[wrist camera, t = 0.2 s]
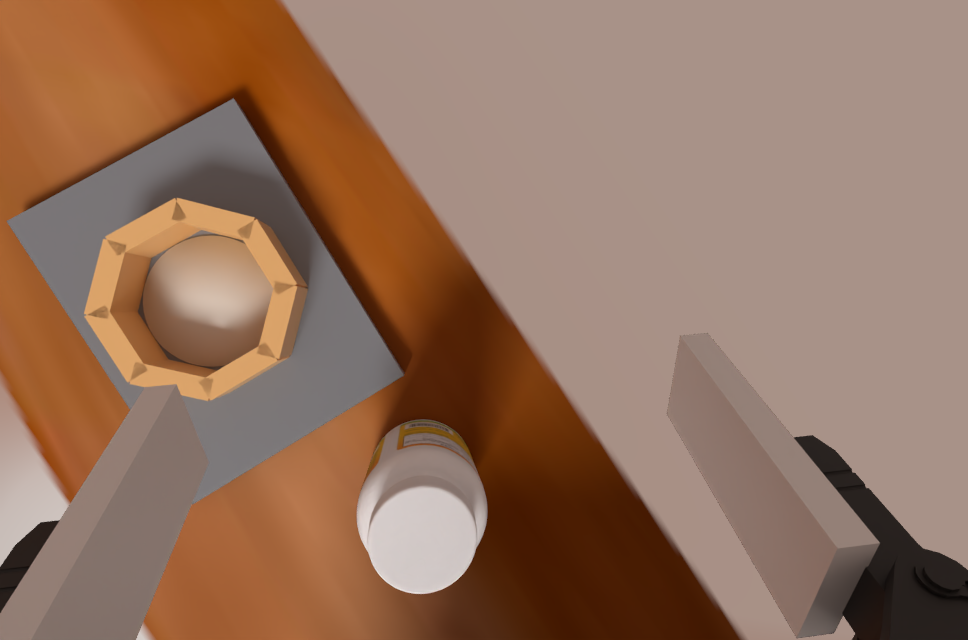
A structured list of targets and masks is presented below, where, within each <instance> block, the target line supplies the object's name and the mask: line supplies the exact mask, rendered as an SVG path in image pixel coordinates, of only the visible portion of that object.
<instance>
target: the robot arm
mask: <svg viewBox="0 0 968 640" xmlns="http://www.w3.org/2000/svg"><path fill="white" fill-rule="evenodd" d="M667 415H668V417H669V418H670V420H671V422H672V424H673V425H674V427H675V429H676V430H677V432H678V434H679V436H680V437H681V439H682V441H683V443H684V444H685V446H686V448H687V449H688V451H689V453H690V455H691V456H692V458H693V460H694V462H695V463H696V465H697V467H698V469H699V470H700V472H701V474H702V475H703V477H704V479H705V481H706V482H707V484H708V486H709V488H710V489H711V491H712V493H713V494H714V496H715V498H716V500H717V501H718V503H719V505H720V507H721V508H722V510H723V512H724V513H725V515H726V517H727V519H728V520H729V522H730V524H731V526H732V527H733V529H734V531H735V532H736V534H737V536H738V538H739V539H740V541H741V543H742V545H743V546H744V548H745V550H746V551H747V553H748V555H749V556H750V558H751V560H752V562H753V564H754V565H755V567H756V569H757V571H758V572H759V574H760V576H761V577H762V579H763V581H764V583H765V584H766V586H767V588H768V590H769V591H770V593H771V595H772V596H773V598H774V600H775V602H776V603H777V605H778V607H779V609H780V610H781V612H782V614H783V615H784V617H785V619H786V621H787V622H788V624H789V626H790V628H791V629H792V631H793V633H794V634H795V636H796V638H802V637H810V636H817V635H824V634H832V633H834V632H835V630H836V628H837V626H838V624H839V622H840V620H841V618H842V616H844V617H845V619H846V620H847V621H848V623H849V624H850V626H851V627H852V629H853V631H854V632H855V635H854V637H853V639H852V640H968V570H967V569H966V568H964V567H963V566H962V565H960V564H959V563H958V562H957V561H955V560H952V559H951V558H949V557H947V556H945V555H943V554H940V553H938V552H933V551H930V550H926V549H923V548H922V547H921V546H920V545H918V543H917V542H916V541H915V540H914V539H913V538H912V537H911V536H910V534H909V533H908V532H907V531H906V530H905V529H904V528H903V526H902V525H901V524H900V523H899V522H898V521H897V520H896V519H895V518H894V516H893V515H892V514H891V513H890V512H889V511H888V510H887V509H886V507H885V506H884V505H883V504H882V503H881V502H880V501H879V499H878V498H877V497H876V496H875V495H874V494H873V493H872V491H871V490H870V489H869V488H866V487H865V484H864V482H863V481H862V480H861V479H860V478H859V477H858V476H857V475H856V473H852V469H851V468H850V467H849V466H848V465H847V463H846V462H845V461H844V460H843V459H842V458H841V457H840V455H839V454H838V453H837V452H836V451H835V450H834V449H832V448H831V447H829V446H827V445H826V444H825V443H823V442H822V441H820V440H819V439H817V438H816V437H814V436H813V435H812V436H803V437H795V438H793V436H792V435H791V434H790V433H789V432H788V430H787V429H786V428H785V427H784V425H783V424H782V423H781V422H780V421H779V419H778V418H777V417H776V416H775V414H774V413H773V412H772V411H771V410H770V409H769V407H768V406H767V405H766V404H765V402H764V401H763V400H762V399H761V397H760V396H759V395H758V394H757V393H756V391H755V390H754V389H753V388H752V387H751V385H750V384H749V383H748V382H747V380H746V379H745V378H744V377H743V375H742V374H741V373H740V372H739V371H738V369H737V368H736V367H735V366H734V365H733V363H732V362H731V361H730V360H729V359H728V357H727V356H726V355H725V354H724V352H723V351H722V350H721V349H720V347H719V346H718V345H717V344H716V343H715V341H714V340H713V339H712V338H711V337H710V335H709V334H708V333H704V334H693V335H683V336H680V340H679V346H678V352H677V358H676V363H675V369H674V375H673V382H672V387H671V393H670V398H669V404H668V410H667ZM208 463H209V462H208V459H207V457H206V454H205V452H204V449H203V447H202V445H201V442H200V440H199V437H198V435H197V432H196V430H195V428H194V425H193V423H192V420H191V418H190V416H189V413H188V411H187V408H186V406H185V403H184V401H183V399H182V396H181V394H180V391H179V389H178V386H177V384H173V385H162V386H152V387H145V388H144V390H143V391H142V393H141V394H140V396H139V397H138V399H137V401H136V402H135V404H134V405H133V407H132V408H131V410H130V411H129V413H128V415H127V416H126V418H125V419H124V421H123V422H122V424H121V426H120V427H119V429H118V430H117V432H116V433H115V435H114V436H113V438H112V440H111V441H110V443H109V444H108V446H107V447H106V449H105V451H104V452H103V454H102V455H101V457H100V458H99V460H98V461H97V463H96V465H95V466H94V468H93V469H92V471H91V472H90V474H89V475H88V477H87V479H86V480H85V482H84V483H83V485H82V486H81V488H80V490H79V491H78V493H77V494H76V496H75V497H74V499H73V500H72V502H71V504H70V505H69V507H68V508H67V510H66V511H65V513H64V515H63V516H62V518H61V519H60V520H59V521H50V522H41V523H40V524H38V525H37V526H36V527H35V528H34V529H33V530H32V531H31V532H30V533H28V534H27V535H26V536H25V537H24V538H23V539H22V540H21V541H20V542H18V543H17V544H16V545H15V547H14V548H13V550H12V551H11V552H10V554H9V555H8V557H7V558H6V559H5V561H4V563H3V564H2V565H1V567H0V640H136V638H137V635H138V633H139V631H140V628H141V626H142V623H143V621H144V618H145V616H146V614H147V611H148V609H149V606H150V604H151V601H152V599H153V597H154V594H155V592H156V589H157V587H158V585H159V582H160V580H161V577H162V575H163V572H164V570H165V568H166V565H167V563H168V560H169V558H170V555H171V553H172V551H173V548H174V546H175V543H176V541H177V538H178V536H179V534H180V531H181V529H182V526H183V524H184V521H185V519H186V517H187V514H188V512H189V509H190V507H191V504H192V502H193V500H194V497H195V495H196V492H197V490H198V488H199V485H200V483H201V480H202V478H203V475H204V473H205V471H206V468H207V466H208Z"/></svg>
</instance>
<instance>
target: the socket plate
mask: <svg viewBox="0 0 968 640" xmlns="http://www.w3.org/2000/svg"><path fill="white" fill-rule="evenodd" d="M7 223H8V224H9V226H10V227H11V229H12V230H13V232H14V233H15V235H16V236H17V238H18V239H19V241H20V242H21V244H22V245H23V247H24V248H25V250H26V252H27V253H28V255H29V256H30V258H31V259H32V261H33V262H34V264H35V265H36V267H37V268H38V270H39V271H40V273H41V274H42V276H43V277H44V279H45V280H46V282H47V284H48V285H49V287H50V288H51V290H52V291H53V293H54V294H55V296H56V297H57V299H58V300H59V302H60V303H61V305H62V306H63V308H64V309H65V311H66V312H67V314H68V316H69V317H70V319H71V320H72V322H73V323H74V325H75V326H76V328H77V329H78V331H79V332H80V334H81V335H82V337H83V338H84V340H85V341H86V343H87V344H88V346H89V348H90V349H91V351H92V352H93V354H94V355H95V357H96V358H97V360H98V361H99V363H100V364H101V366H102V367H103V369H104V370H105V372H106V373H107V375H108V376H109V378H110V380H111V381H112V383H113V384H114V386H115V387H116V389H117V390H118V392H119V393H120V395H121V396H122V398H123V399H124V401H125V402H126V404H127V405H128V407H129V409H130V410H131V408H132V407H133V405H134V404H135V402H136V401H137V399H138V397H139V396H140V394H141V393H142V391H143V390H144V388H145V387H152V386H162V385H173V384H177V386H178V389H179V391H180V394H181V396H182V399H183V401H184V403H185V406H186V408H187V411H188V413H189V416H190V418H191V420H192V423H193V425H194V428H195V430H196V432H197V435H198V437H199V440H200V442H201V445H202V447H203V449H204V452H205V454H206V457H207V459H208V462H209V463H208V466H207V468H206V471H205V473H204V475H203V478H202V480H201V483H200V485H199V488H198V490H197V492H196V495H195V497H194V500H193V502H192V504H194V503H196V502H197V501H199V500H201V499H202V498H204V497H206V496H207V495H209V494H210V493H212V492H214V491H215V490H217V489H219V488H220V487H222V486H224V485H225V484H227V483H229V482H230V481H232V480H233V479H235V478H237V477H238V476H240V475H242V474H243V473H245V472H247V471H248V470H250V469H251V468H253V467H255V466H256V465H258V464H260V463H261V462H263V461H265V460H266V459H268V458H269V457H271V456H273V455H274V454H276V453H278V452H279V451H281V450H283V449H284V448H286V447H288V446H289V445H291V444H292V443H294V442H296V441H297V440H299V439H301V438H302V437H304V436H306V435H307V434H309V433H310V432H312V431H314V430H315V429H317V428H319V427H320V426H322V425H324V424H325V423H327V422H328V421H330V420H332V419H333V418H335V417H337V416H338V415H340V414H342V413H343V412H345V411H347V410H348V409H350V408H351V407H353V406H355V405H356V404H358V403H360V402H361V401H363V400H365V399H366V398H368V397H369V396H371V395H373V394H374V393H376V392H378V391H379V390H381V389H383V388H384V387H386V386H387V385H389V384H391V383H392V382H394V381H396V380H397V379H399V378H401V377H402V376H404V374H405V373H404V371H403V370H402V368H401V367H400V365H399V363H398V362H397V360H396V358H395V357H394V355H393V354H392V352H391V350H390V349H389V347H388V345H387V344H386V342H385V341H384V339H383V337H382V336H381V334H380V332H379V331H378V329H377V328H376V326H375V324H374V323H373V321H372V319H371V318H370V316H369V315H368V313H367V311H366V310H365V308H364V306H363V305H362V303H361V302H360V300H359V298H358V297H357V295H356V293H355V292H354V290H353V289H352V287H351V285H350V284H349V282H348V280H347V279H346V277H345V276H344V274H343V272H342V271H341V269H340V267H339V266H338V264H337V263H336V261H335V259H334V258H333V256H332V255H331V253H330V251H329V250H328V248H327V246H326V245H325V243H324V242H323V240H322V238H321V237H320V235H319V233H318V232H317V230H316V229H315V227H314V225H313V224H312V222H311V220H310V219H309V217H308V216H307V214H306V212H305V211H304V209H303V207H302V206H301V204H300V203H299V201H298V199H297V198H296V196H295V194H294V193H293V191H292V190H291V188H290V186H289V185H288V183H287V181H286V180H285V178H284V177H283V175H282V173H281V172H280V170H279V168H278V167H277V165H276V164H275V162H274V160H273V159H272V157H271V155H270V154H269V152H268V151H267V149H266V147H265V146H264V144H263V142H262V141H261V139H260V138H259V136H258V134H257V133H256V131H255V129H254V128H253V126H252V125H251V123H250V121H249V120H248V118H247V116H246V115H245V113H244V112H243V110H242V108H241V107H240V105H239V104H238V103H237V102H236V101H235V100H234V99H232V100H230V101H228V102H226V103H224V104H222V105H221V106H219V107H217V108H215V109H213V110H211V111H209V112H208V113H206V114H204V115H202V116H200V117H198V118H197V119H195V120H193V121H191V122H189V123H187V124H185V125H184V126H182V127H180V128H178V129H176V130H174V131H172V132H171V133H169V134H167V135H165V136H163V137H161V138H160V139H158V140H156V141H154V142H152V143H150V144H148V145H147V146H145V147H143V148H141V149H139V150H137V151H135V152H134V153H132V154H130V155H128V156H126V157H124V158H123V159H121V160H119V161H117V162H115V163H113V164H111V165H110V166H108V167H106V168H104V169H102V170H100V171H99V172H97V173H95V174H93V175H91V176H89V177H87V178H86V179H84V180H82V181H80V182H78V183H76V184H74V185H73V186H71V187H69V188H67V189H65V190H63V191H62V192H60V193H58V194H56V195H54V196H52V197H50V198H49V199H47V200H45V201H43V202H41V203H39V204H37V205H36V206H34V207H32V208H30V209H28V210H26V211H25V212H23V213H21V214H19V215H17V216H15V217H13V218H12V219H10V220H8V221H7Z"/></svg>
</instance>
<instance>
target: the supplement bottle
mask: <svg viewBox="0 0 968 640" xmlns="http://www.w3.org/2000/svg"><path fill="white" fill-rule="evenodd" d="M487 513H488V511H487V499H486V495H485V491H484V487H483V484H482V482H481V479H480V477H479V475H478V472H477V469H476V467H475V464H474V462H473V459H472V456H471V454H470V451H469V449H468V447H467V445H466V443H465V442H464V440H463V439H462V438H461V436H460V435H459V434H458V433H457V432H456V431H454V430H453V429H452V428H450V427H449V426H447V425H445V424H443V423H440V422H437V421H433V420H426V419H420V420H413V421H408V422H405V423H403V424H401V425H399V426H397V427H395V428H393V429H392V430H391V431H389V432H388V433H387V434H386V435H385V436H384V437H383V438H382V440H381V441H380V442H379V444H378V446H377V447H376V449H375V451H374V453H373V456H372V459H371V462H370V465H369V468H368V471H367V474H366V477H365V480H364V483H363V485H362V488H361V491H360V495H359V500H358V506H357V526H358V530H359V534H360V537H361V540H362V542H363V544H364V546H365V548H366V550H367V551H368V553H369V556H370V559H371V562H372V564H373V566H374V568H375V570H376V571H377V573H378V574H379V575H380V576H381V577H382V578H383V579H384V580H385V581H386V582H387V583H388V584H390V585H391V586H393V587H394V588H396V589H399V590H401V591H404V592H408V593H414V594H426V593H432V592H436V591H439V590H442V589H444V588H446V587H448V586H449V585H451V584H453V583H454V582H455V581H456V580H458V579H459V578H460V577H461V576H462V575H463V574H464V572H465V571H466V570H467V568H468V567H469V565H470V563H471V561H472V559H473V557H474V554H475V551H476V548H477V546H478V544H479V543H480V541H481V538H482V536H483V534H484V531H485V527H486V523H487Z"/></svg>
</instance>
